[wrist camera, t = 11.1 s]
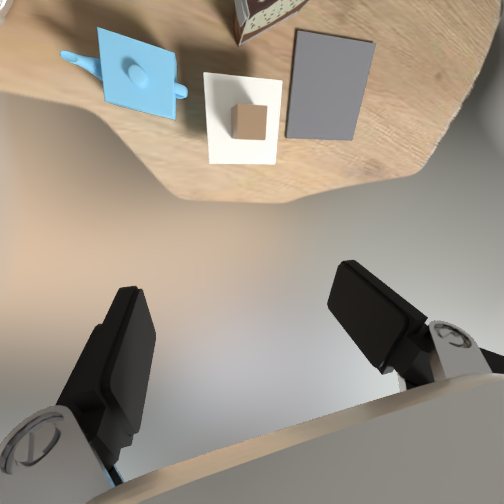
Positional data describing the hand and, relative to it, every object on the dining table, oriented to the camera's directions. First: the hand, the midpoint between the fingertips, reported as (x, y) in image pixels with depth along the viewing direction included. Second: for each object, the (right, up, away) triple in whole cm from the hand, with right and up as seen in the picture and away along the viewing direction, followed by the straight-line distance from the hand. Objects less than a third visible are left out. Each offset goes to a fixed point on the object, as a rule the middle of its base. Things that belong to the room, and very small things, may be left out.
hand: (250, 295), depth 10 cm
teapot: (-15, +25, +18) cm, 34 cm away
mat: (+12, +28, +23) cm, 39 cm away
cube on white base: (-1, +20, +19) cm, 27 cm away
